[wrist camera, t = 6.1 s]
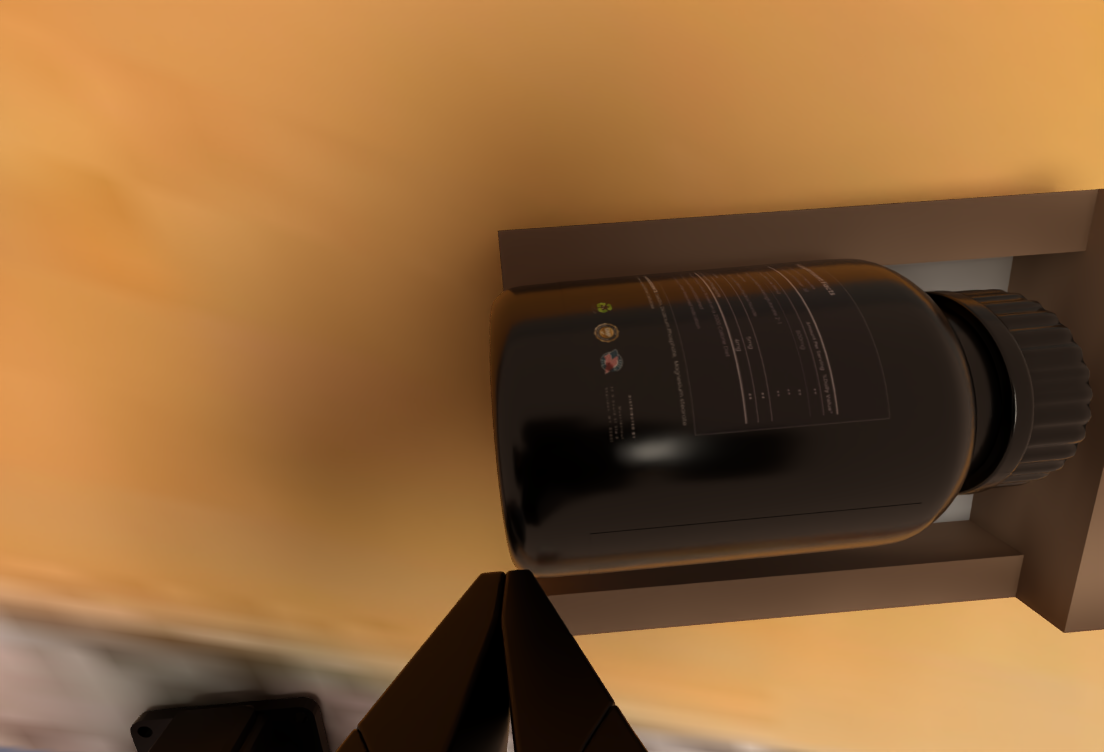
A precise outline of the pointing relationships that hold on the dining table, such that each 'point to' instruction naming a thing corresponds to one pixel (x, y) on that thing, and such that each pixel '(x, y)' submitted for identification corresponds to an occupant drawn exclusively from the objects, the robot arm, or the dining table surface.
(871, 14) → the dining table surface
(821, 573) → the cradle
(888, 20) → the dining table surface
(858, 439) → the supplement bottle
